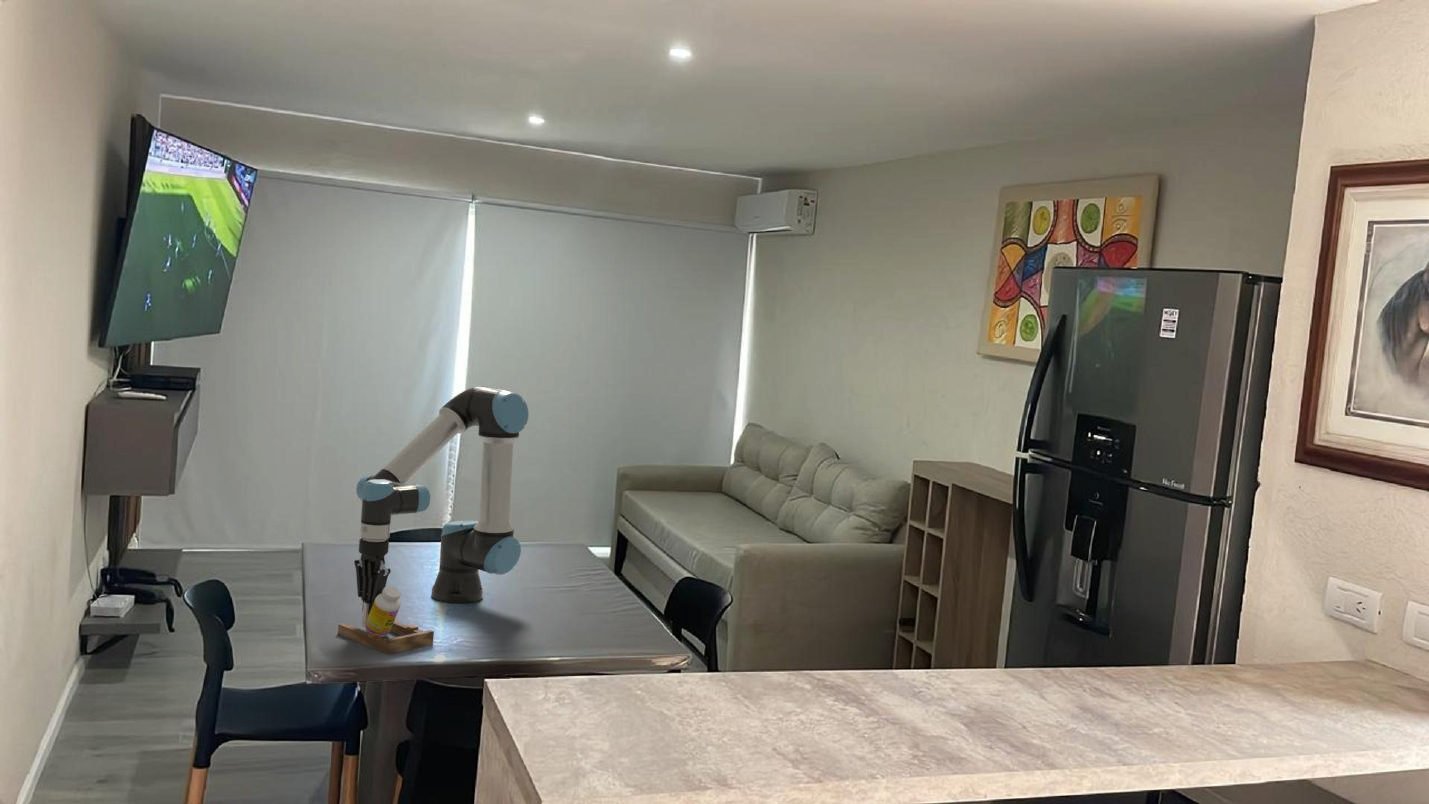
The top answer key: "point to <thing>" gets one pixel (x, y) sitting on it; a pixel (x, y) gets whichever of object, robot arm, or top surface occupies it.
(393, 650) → the wooden frame
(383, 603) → the supplement bottle
